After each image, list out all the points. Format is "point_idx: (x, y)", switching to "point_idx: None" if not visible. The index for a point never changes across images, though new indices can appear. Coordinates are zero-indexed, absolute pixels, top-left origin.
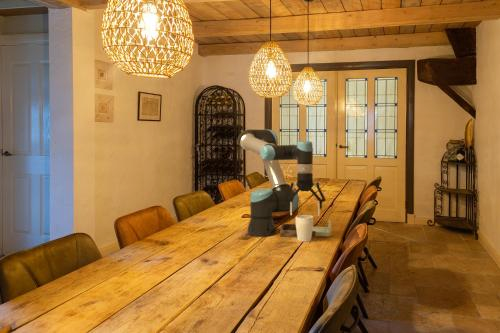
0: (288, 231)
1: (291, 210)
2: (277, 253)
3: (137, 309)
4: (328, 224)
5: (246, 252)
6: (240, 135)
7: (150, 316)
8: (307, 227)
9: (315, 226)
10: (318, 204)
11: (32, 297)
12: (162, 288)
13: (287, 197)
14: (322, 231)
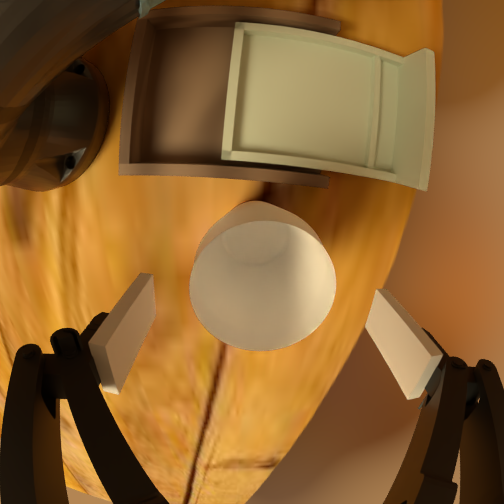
0: (165, 174)
1: (142, 338)
2: (162, 399)
3: (91, 488)
4: (410, 54)
5: None
6: None
7: (109, 497)
8: (274, 310)
9: (337, 32)
10: (404, 386)
11: None
12: (75, 469)
13: (56, 419)
14: (367, 102)
